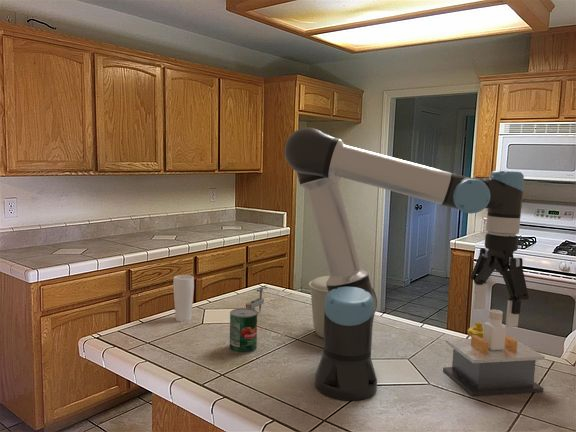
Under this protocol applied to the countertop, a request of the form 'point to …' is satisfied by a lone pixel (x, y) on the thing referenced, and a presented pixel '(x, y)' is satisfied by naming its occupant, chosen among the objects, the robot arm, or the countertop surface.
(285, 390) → the countertop surface
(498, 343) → the pepper shaker
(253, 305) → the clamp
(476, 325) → the pressure relief valve
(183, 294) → the drinking glass
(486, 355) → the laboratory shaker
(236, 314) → the canned tomato
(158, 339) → the countertop surface
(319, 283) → the canister
